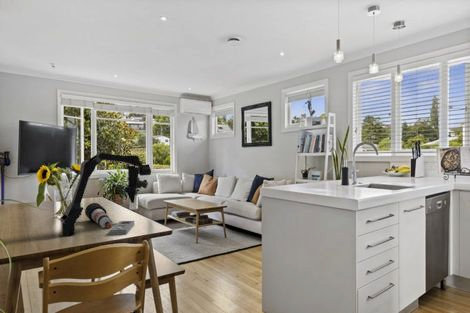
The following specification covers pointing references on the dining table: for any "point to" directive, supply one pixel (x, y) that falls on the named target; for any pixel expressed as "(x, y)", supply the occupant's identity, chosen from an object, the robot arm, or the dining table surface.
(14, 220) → the dining table surface
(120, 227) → the grey hollow box
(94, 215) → the cable
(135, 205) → the white block
